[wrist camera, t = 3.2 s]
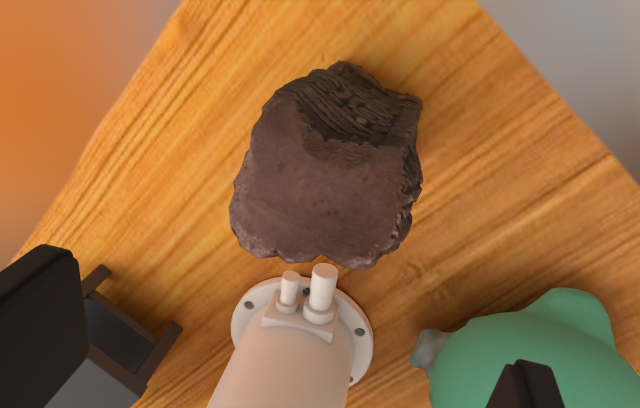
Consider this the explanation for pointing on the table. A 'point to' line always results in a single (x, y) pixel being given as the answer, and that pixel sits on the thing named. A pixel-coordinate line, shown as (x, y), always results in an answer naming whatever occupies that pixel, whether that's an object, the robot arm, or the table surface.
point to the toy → (531, 354)
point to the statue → (329, 171)
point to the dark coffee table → (112, 354)
